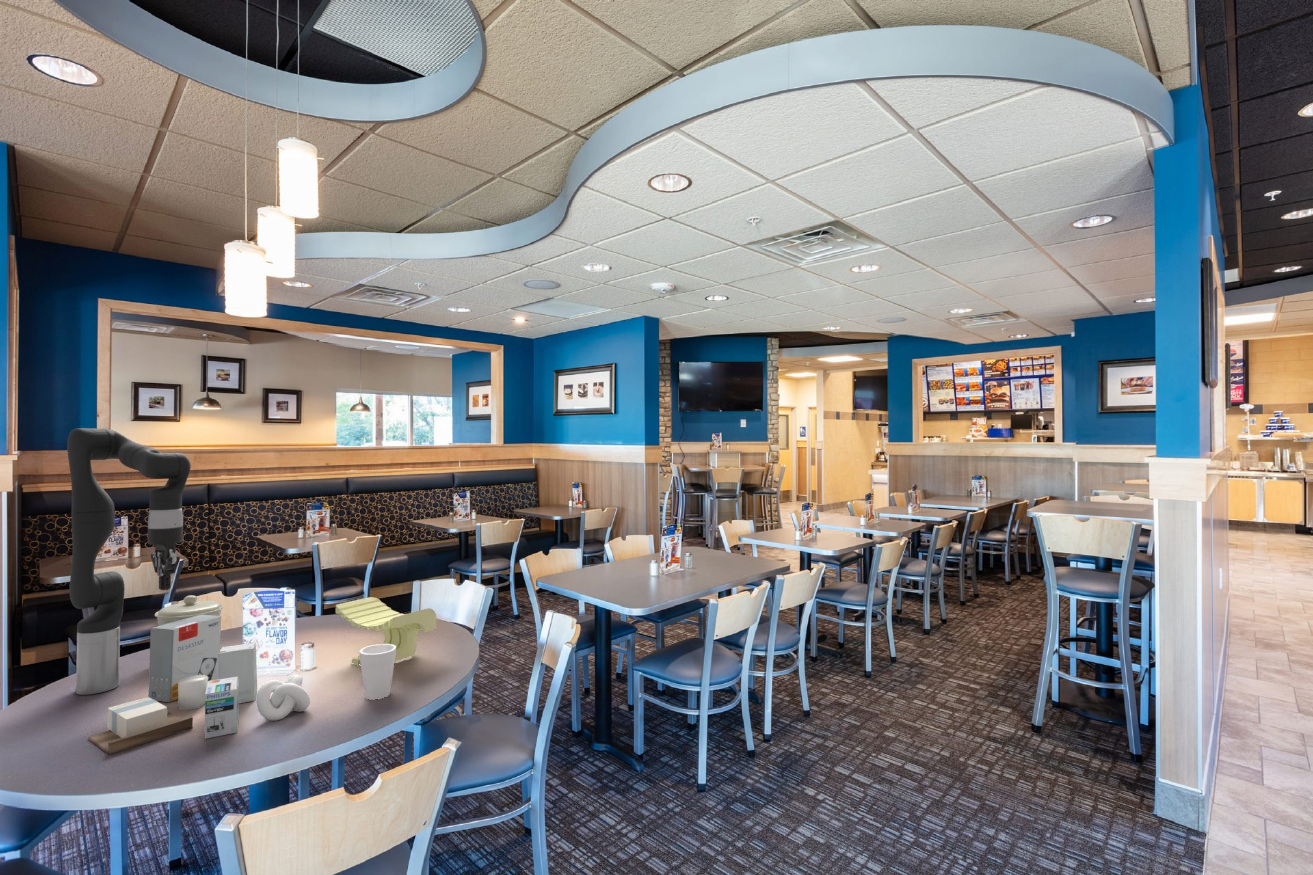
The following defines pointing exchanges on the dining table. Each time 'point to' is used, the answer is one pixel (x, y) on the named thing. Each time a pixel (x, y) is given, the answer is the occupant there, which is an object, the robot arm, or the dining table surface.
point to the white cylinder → (192, 692)
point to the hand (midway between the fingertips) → (164, 589)
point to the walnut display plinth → (140, 735)
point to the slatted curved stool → (388, 623)
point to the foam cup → (377, 669)
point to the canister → (187, 610)
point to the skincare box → (240, 668)
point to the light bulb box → (221, 707)
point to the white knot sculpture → (282, 698)
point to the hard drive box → (183, 654)
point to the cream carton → (136, 716)
